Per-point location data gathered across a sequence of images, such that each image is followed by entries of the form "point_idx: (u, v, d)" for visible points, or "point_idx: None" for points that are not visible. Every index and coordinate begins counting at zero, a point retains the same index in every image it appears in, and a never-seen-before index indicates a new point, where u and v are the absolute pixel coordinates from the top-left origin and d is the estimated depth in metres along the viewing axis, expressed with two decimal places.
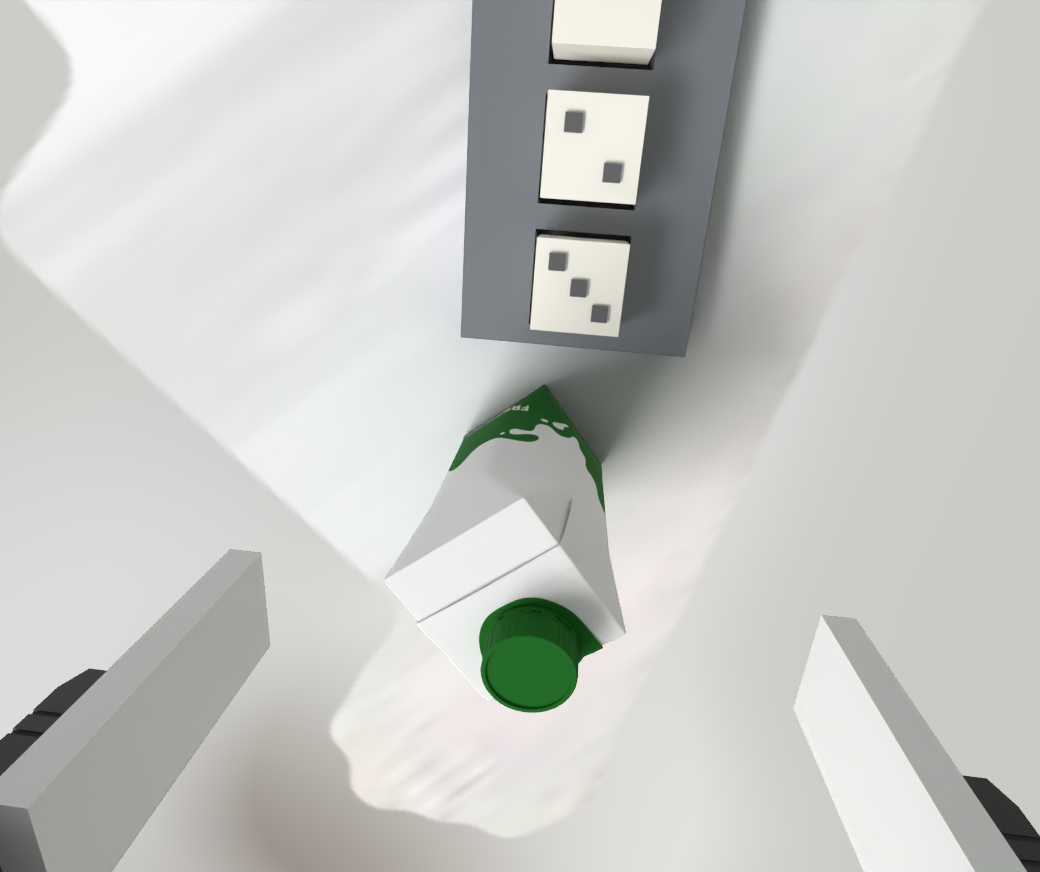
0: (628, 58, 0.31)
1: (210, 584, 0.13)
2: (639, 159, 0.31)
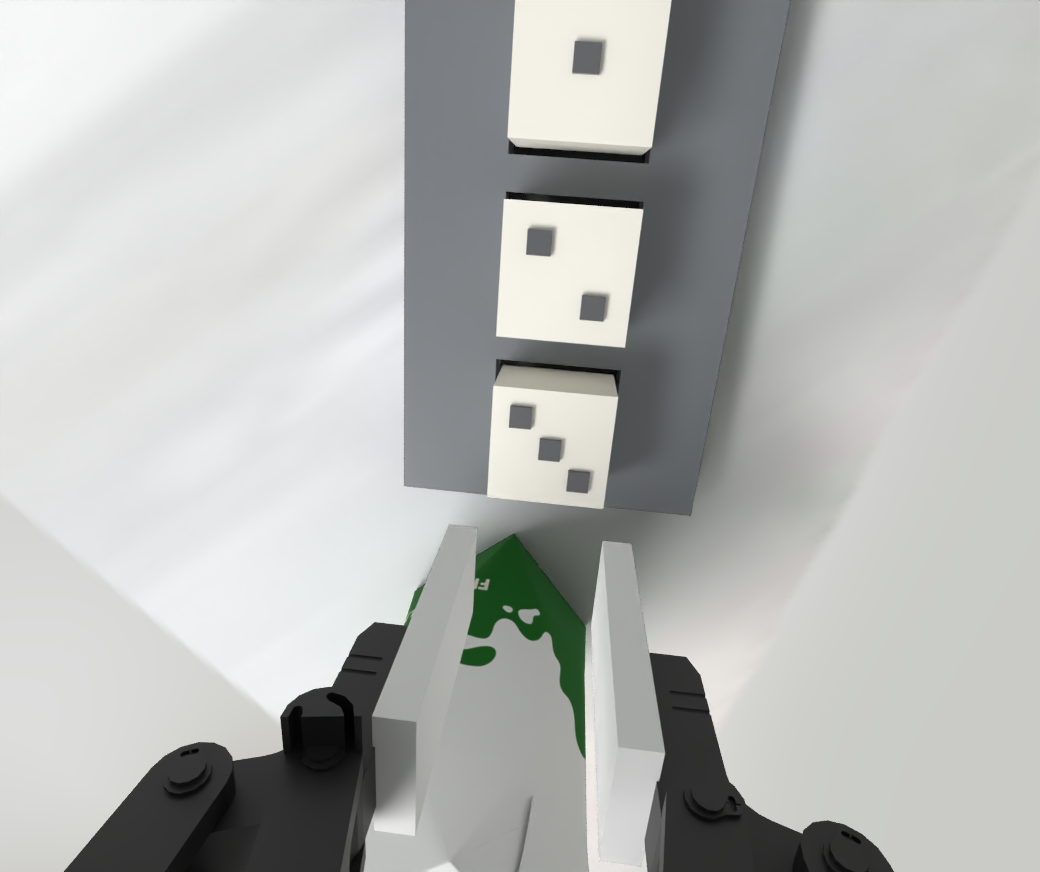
0: (615, 151, 0.23)
1: (451, 553, 0.15)
2: (630, 290, 0.23)
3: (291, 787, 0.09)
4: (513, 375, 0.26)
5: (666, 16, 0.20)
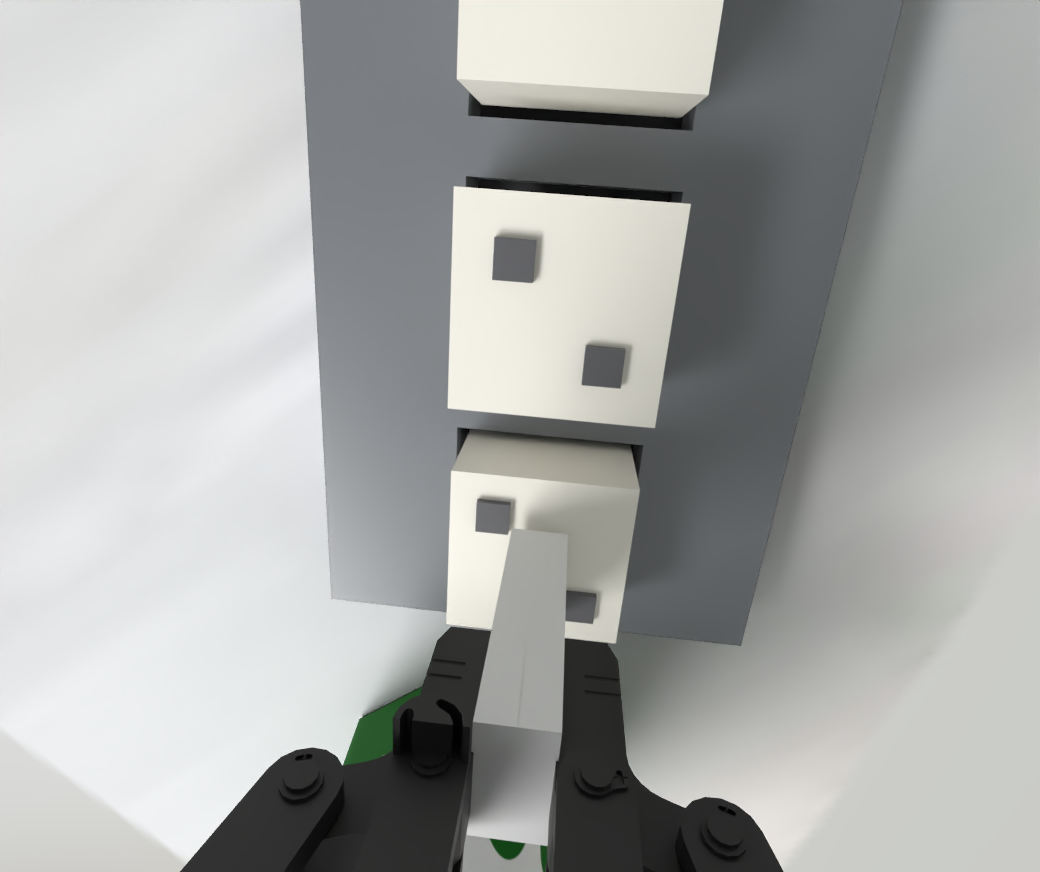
0: (640, 108, 0.14)
1: (519, 557, 0.15)
2: (665, 339, 0.14)
3: (399, 789, 0.09)
4: (484, 447, 0.18)
5: None
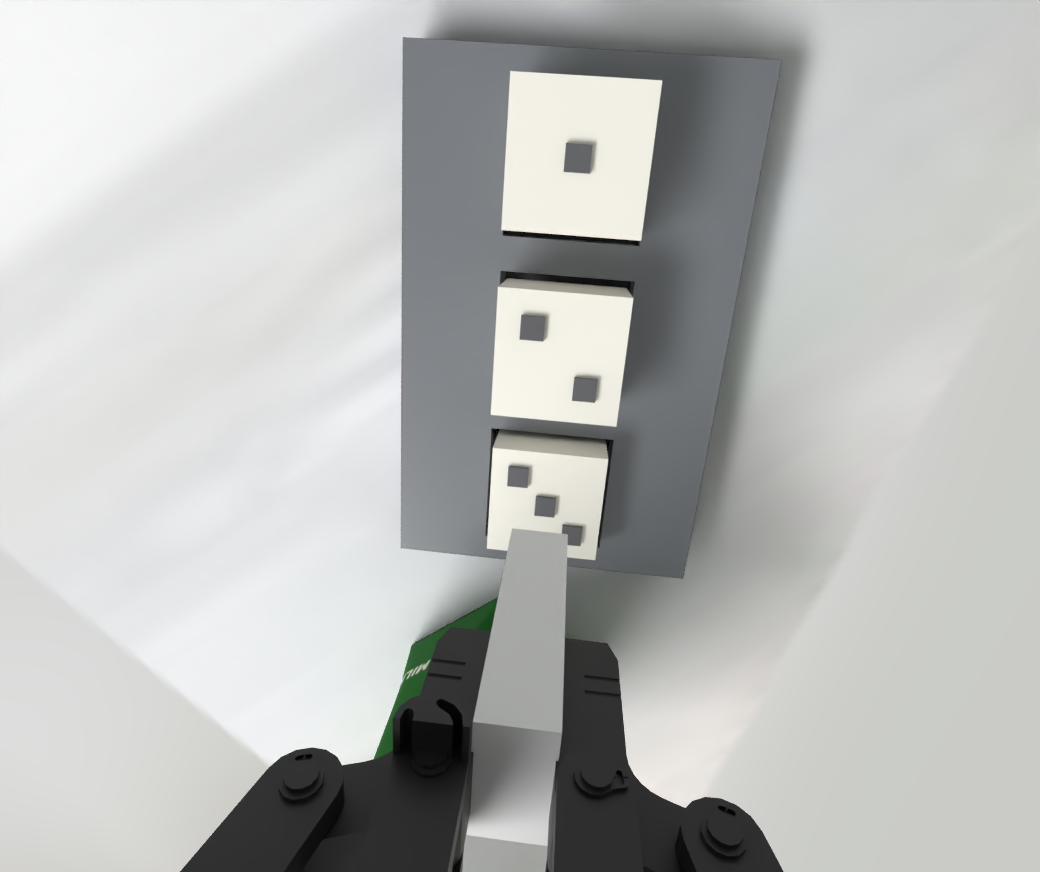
0: None
1: (519, 557, 0.15)
2: (621, 373, 0.23)
3: (399, 789, 0.09)
4: (511, 435, 0.28)
5: (654, 120, 0.20)
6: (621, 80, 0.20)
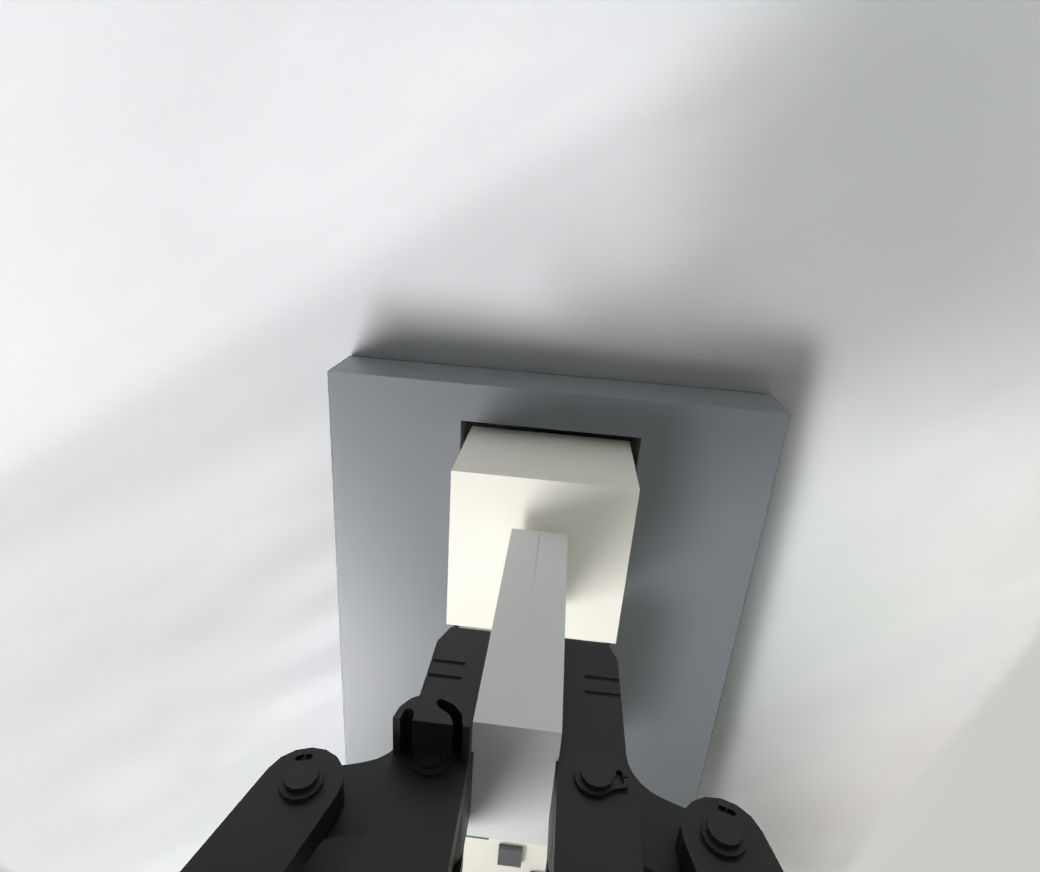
0: None
1: (519, 557, 0.15)
2: None
3: (399, 789, 0.09)
4: None
5: (630, 529, 0.16)
6: (589, 487, 0.16)
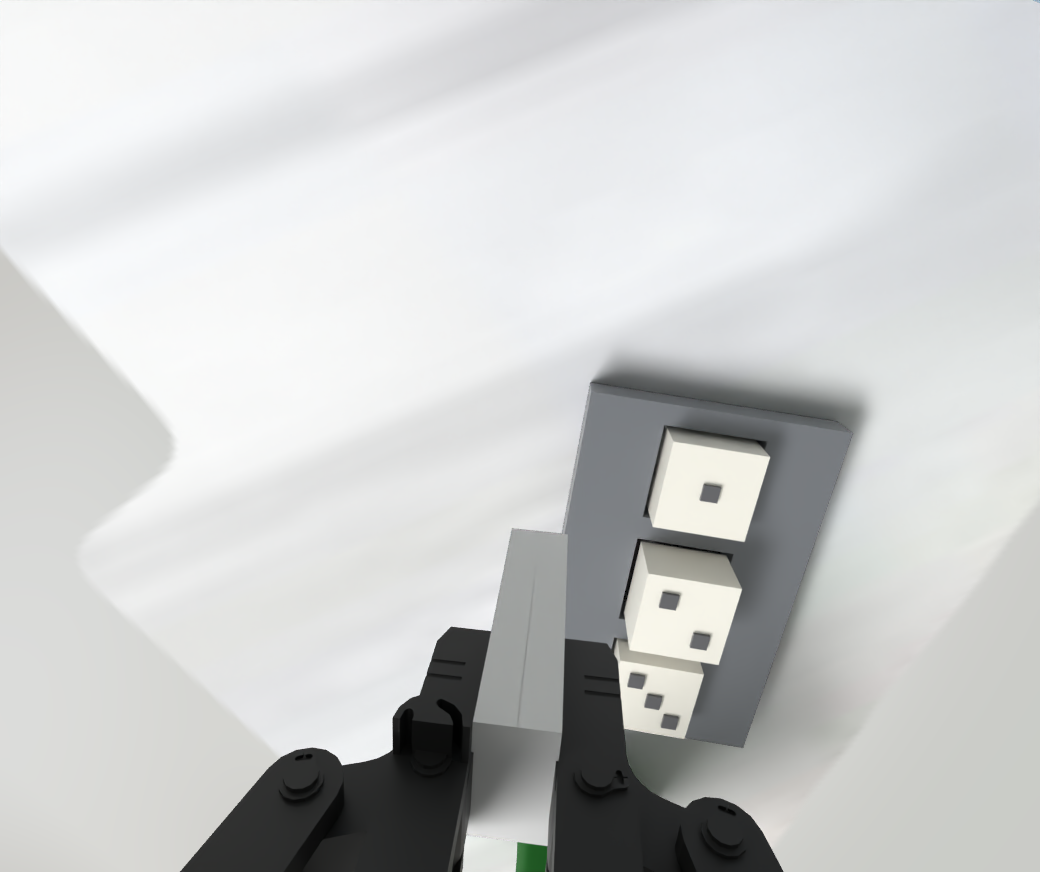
0: None
1: (519, 557, 0.15)
2: (726, 633, 0.33)
3: (399, 789, 0.09)
4: None
5: (762, 477, 0.32)
6: (744, 454, 0.31)
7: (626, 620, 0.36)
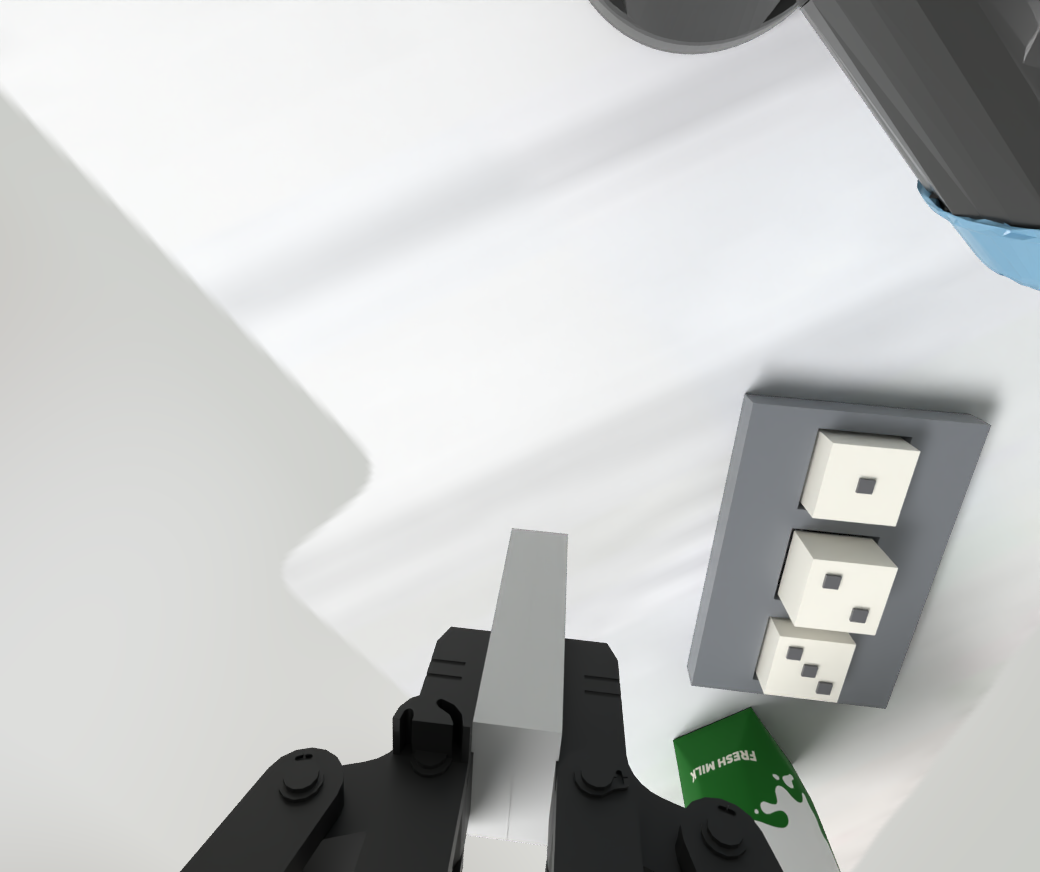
0: None
1: (520, 557, 0.15)
2: (883, 607, 0.38)
3: (399, 789, 0.09)
4: (781, 620, 0.42)
5: (912, 469, 0.36)
6: (896, 450, 0.36)
7: (783, 600, 0.41)
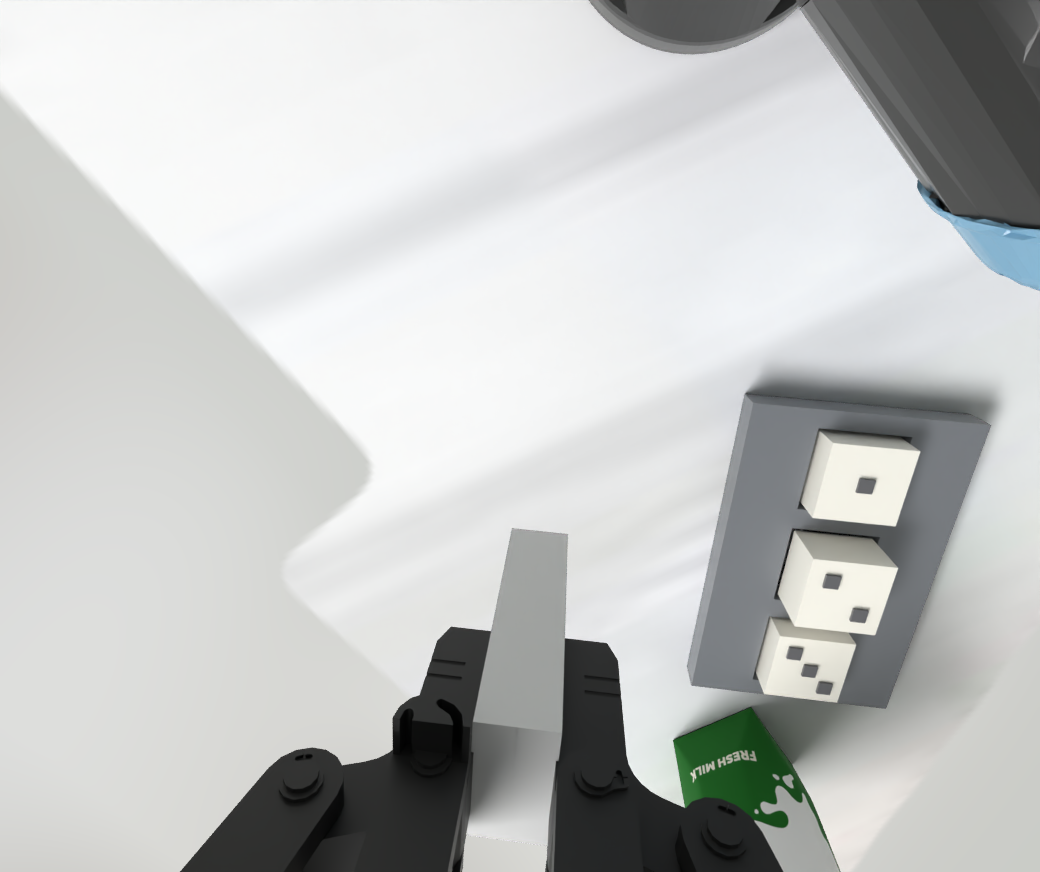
0: None
1: (520, 557, 0.15)
2: (883, 607, 0.38)
3: (399, 789, 0.09)
4: (781, 620, 0.42)
5: (912, 469, 0.36)
6: (897, 450, 0.36)
7: (783, 600, 0.41)
